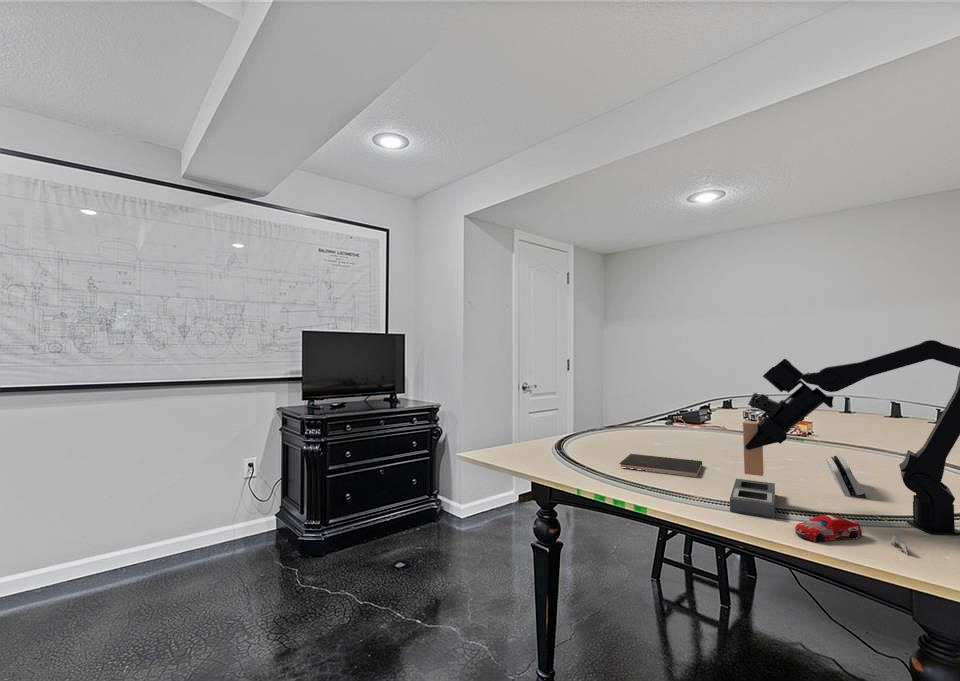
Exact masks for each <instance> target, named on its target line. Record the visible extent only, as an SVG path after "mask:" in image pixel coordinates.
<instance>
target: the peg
mask: <svg viewBox="0 0 960 681" xmlns="http://www.w3.org/2000/svg"><path fill="white" fill-rule="evenodd" d="M758 422H759V421H753V420H751V421H750V420H743V422H742V428H743V429H742V432H743V433H742V434H743V435H742V436H743V438H742V440H743V466H744V467H743V469H744V475H750V476H757V477H758V476H759V477H763V476H764V470H765V469H764V446H761V447H758V448H754V449H751V450H748V449H746V448H745V446H746V445H747V443H748V442H749V441H750V440H751V439H752V437H753V436H754V435H755V434H756V433H757V431H758V426H757V424H758Z"/></svg>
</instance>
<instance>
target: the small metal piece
mask: <svg viewBox="0 0 960 681" xmlns="http://www.w3.org/2000/svg"><path fill="white" fill-rule="evenodd" d="M890 544H891V545H893V546H894V547H895V548H900V549H901V552H902V553H904V555H906V556H908V555H909V556H911V552H910V551H909V550H908V546H906V545H907V544H906V543H905V542H904V541H902V540H901V539H900V538H899V537H898V535H897V536H895V535H894V534H893V535H892V538H891V539H890Z"/></svg>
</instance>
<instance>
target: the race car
mask: <svg viewBox="0 0 960 681" xmlns="http://www.w3.org/2000/svg"><path fill="white" fill-rule="evenodd" d="M808 519H809V520H807V521H803V522H799V523H797V524H796V525H795V527H794V529H795V534H796V535H797V536H799V537H801V538H803V539H806V540H810V541H814V542H816V543H819V544H820V543H824V542H828V541H837V540H839V541H840V540H856V539H857V538H861V537H862V535H863V530H862V527H861V525H860V524H859V523H858V522H857V521H854V520H852V519H849V518H844V517H840V516H838V515H833V514H831V515H830V514H825V515H824V514H823V515H818V516H815V517H813V518H811V517H808Z"/></svg>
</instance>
